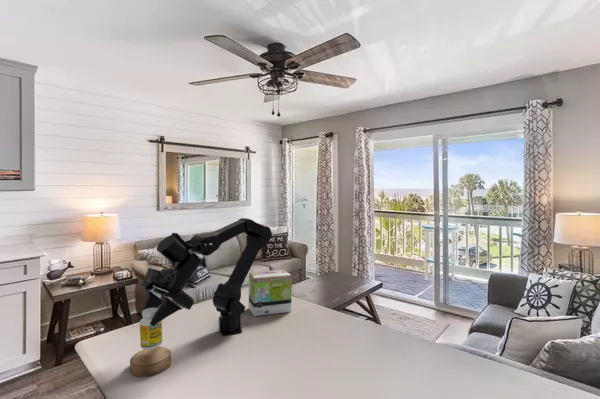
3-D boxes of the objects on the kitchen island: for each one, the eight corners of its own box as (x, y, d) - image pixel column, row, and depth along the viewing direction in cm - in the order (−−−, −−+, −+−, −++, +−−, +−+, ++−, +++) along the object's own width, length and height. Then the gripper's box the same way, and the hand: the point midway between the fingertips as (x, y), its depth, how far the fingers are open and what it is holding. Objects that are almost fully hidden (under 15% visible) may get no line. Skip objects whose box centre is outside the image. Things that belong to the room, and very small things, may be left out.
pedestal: (170, 353, 92) (170, 343, 92) (171, 371, 83) (171, 360, 83) (131, 360, 88) (131, 350, 88) (128, 380, 79) (128, 368, 79)
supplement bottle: (153, 338, 89) (152, 305, 89) (166, 342, 87) (166, 308, 86) (135, 347, 84) (134, 311, 84) (149, 352, 82) (148, 315, 82)
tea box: (254, 317, 118) (253, 278, 118) (248, 308, 127) (248, 271, 127) (292, 312, 124) (292, 274, 123) (283, 303, 133) (283, 268, 132)
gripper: (147, 251, 93) (107, 299, 85) (182, 260, 82) (140, 316, 74) (172, 272, 100) (137, 318, 92) (208, 283, 89) (172, 337, 80)
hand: (146, 322), depth 84 cm, fingers closed on supplement bottle, 5 cm apart
